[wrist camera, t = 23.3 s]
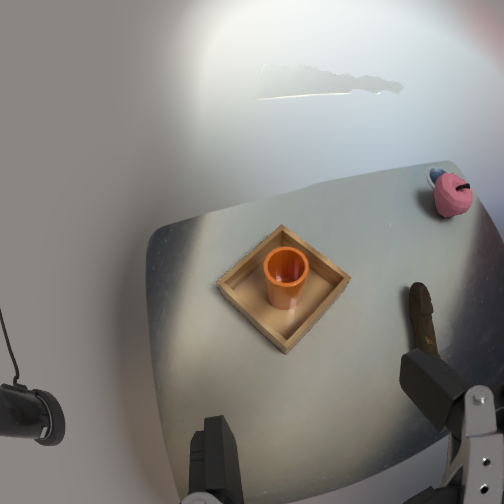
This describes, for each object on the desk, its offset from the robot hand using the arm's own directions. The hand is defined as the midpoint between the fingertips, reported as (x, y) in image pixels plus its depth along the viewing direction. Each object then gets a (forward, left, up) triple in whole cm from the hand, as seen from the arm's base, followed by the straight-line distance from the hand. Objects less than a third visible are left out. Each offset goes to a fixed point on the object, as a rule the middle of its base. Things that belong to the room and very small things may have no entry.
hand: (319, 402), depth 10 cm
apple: (+2, +48, -28) cm, 56 cm away
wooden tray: (-12, +11, -28) cm, 32 cm away
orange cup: (-12, +11, -28) cm, 32 cm away
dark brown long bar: (+10, +19, -28) cm, 36 cm away
